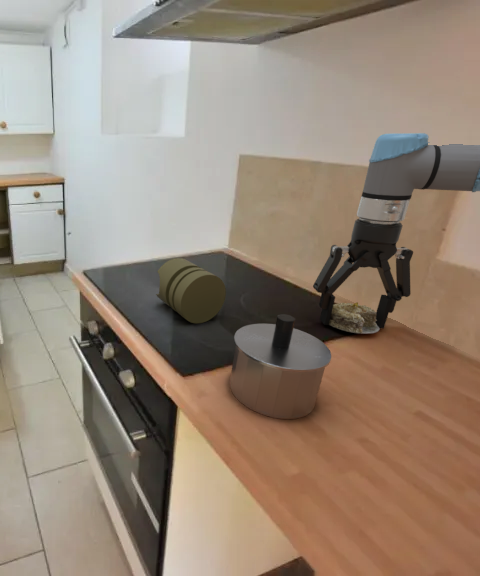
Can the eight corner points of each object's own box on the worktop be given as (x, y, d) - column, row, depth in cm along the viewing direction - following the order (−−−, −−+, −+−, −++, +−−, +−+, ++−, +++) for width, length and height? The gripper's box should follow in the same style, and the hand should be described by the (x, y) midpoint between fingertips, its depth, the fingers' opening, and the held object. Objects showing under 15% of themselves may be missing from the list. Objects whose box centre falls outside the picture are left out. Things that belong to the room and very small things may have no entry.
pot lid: (311, 332, 63) (318, 302, 61) (345, 380, 51) (356, 344, 49) (227, 326, 65) (231, 296, 63) (241, 371, 53) (247, 336, 51)
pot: (299, 373, 66) (309, 330, 62) (326, 423, 54) (341, 374, 51) (225, 367, 68) (231, 324, 64) (236, 414, 56) (245, 365, 53)
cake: (316, 326, 82) (319, 303, 80) (333, 313, 88) (336, 291, 86) (370, 340, 74) (375, 314, 73) (385, 324, 80) (390, 301, 79)
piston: (192, 298, 95) (196, 255, 91) (222, 319, 85) (229, 271, 81) (152, 305, 92) (155, 260, 88) (178, 327, 81) (183, 278, 77)
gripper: (322, 222, 71) (300, 328, 79) (459, 226, 67) (420, 336, 76) (309, 215, 78) (289, 312, 86) (432, 217, 74) (399, 319, 82)
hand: (350, 323), depth 81 cm, fingers closed on cake, 10 cm apart
